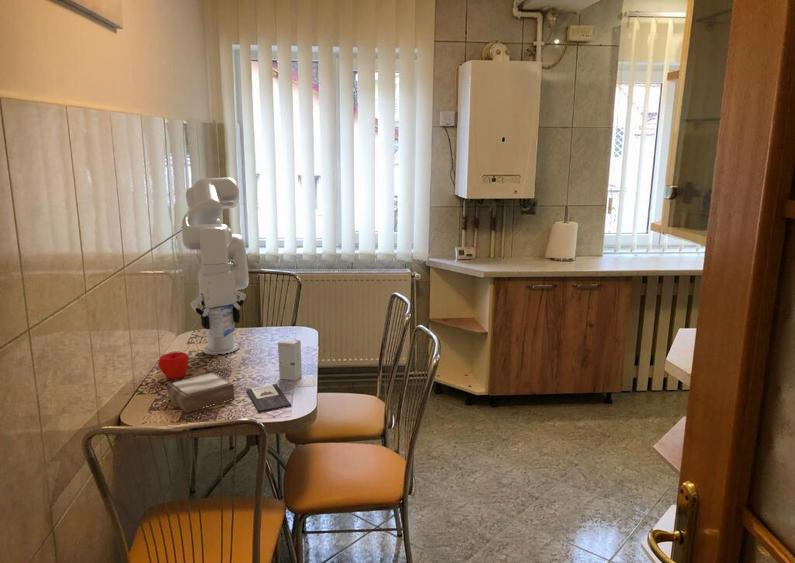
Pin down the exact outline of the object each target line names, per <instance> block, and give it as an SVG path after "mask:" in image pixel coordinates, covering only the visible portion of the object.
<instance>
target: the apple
mask: <svg viewBox="0 0 795 563" xmlns="http://www.w3.org/2000/svg"><path fill="white" fill-rule="evenodd" d="M188 367H189V356H188V354H187V353H186V352H180V351H179V352H170V353H166V354H163V355H161V356H160V358H159V360H158V368H159V370H160V372H162V374H163V375H164V376H165V377H166V378H167V379H172V380H177V379H178V380H179V379H181V378H183V377H185V375H186V373H187V371H188Z"/></svg>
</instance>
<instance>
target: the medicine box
mask: <svg viewBox="0 0 795 563" xmlns="http://www.w3.org/2000/svg"><path fill="white" fill-rule="evenodd" d="M207 315H208V317H209V325H210V329H209V332H210V337H216V338H217V337H218V338H224V337H225V336H227V335H228V334H230V333H231V332H233V333H234V331H235V329H236V328H235V322H234V318H233V307H232V305H228V306H223V307H217V308H212V309H210V310H209V312H208V313H207Z"/></svg>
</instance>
